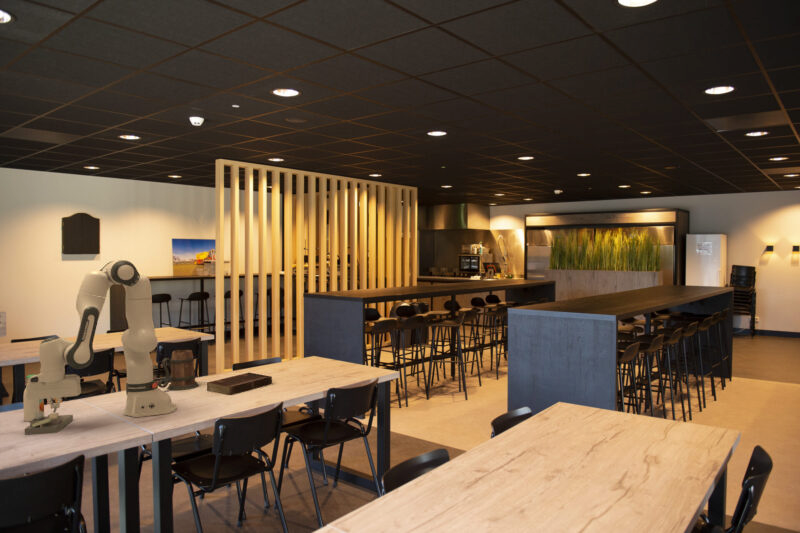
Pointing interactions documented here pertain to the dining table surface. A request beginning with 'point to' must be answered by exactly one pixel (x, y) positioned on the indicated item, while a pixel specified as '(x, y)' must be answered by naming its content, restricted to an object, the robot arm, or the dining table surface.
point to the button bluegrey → (39, 415)
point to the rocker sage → (42, 422)
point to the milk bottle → (31, 405)
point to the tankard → (179, 371)
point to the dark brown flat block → (239, 383)
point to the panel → (49, 425)
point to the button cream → (53, 416)
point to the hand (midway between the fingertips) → (55, 407)
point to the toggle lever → (56, 402)
